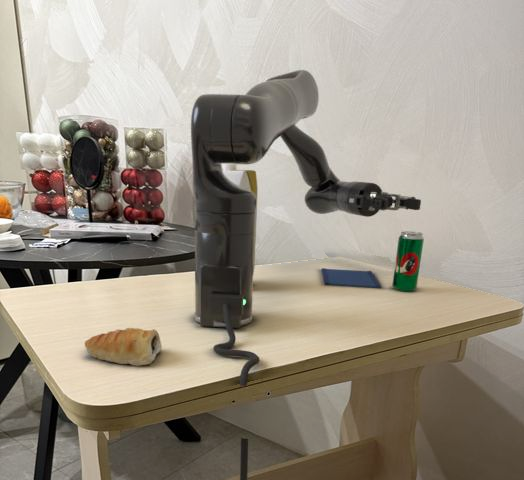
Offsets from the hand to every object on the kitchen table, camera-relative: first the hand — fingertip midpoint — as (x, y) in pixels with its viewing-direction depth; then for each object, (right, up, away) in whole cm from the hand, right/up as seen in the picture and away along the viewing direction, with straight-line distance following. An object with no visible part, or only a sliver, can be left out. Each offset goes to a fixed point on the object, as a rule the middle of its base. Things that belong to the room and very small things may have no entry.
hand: (403, 204), depth 109 cm
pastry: (-47, -32, -41) cm, 70 cm away
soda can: (+1, -18, +3) cm, 18 cm away
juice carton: (-36, -17, -1) cm, 40 cm away
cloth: (-10, -14, +11) cm, 20 cm away
